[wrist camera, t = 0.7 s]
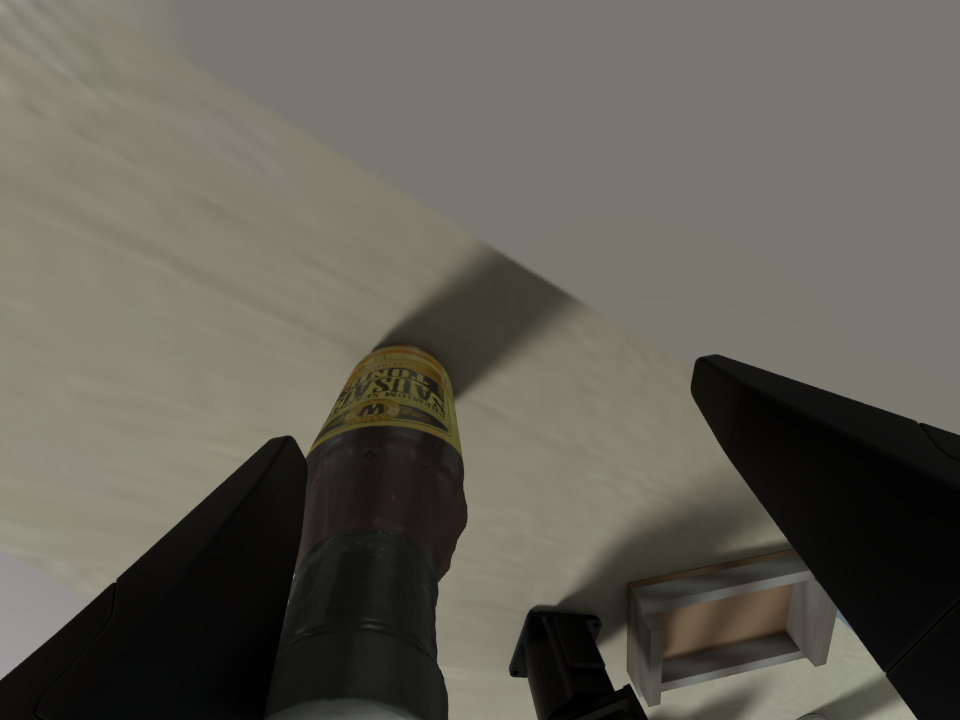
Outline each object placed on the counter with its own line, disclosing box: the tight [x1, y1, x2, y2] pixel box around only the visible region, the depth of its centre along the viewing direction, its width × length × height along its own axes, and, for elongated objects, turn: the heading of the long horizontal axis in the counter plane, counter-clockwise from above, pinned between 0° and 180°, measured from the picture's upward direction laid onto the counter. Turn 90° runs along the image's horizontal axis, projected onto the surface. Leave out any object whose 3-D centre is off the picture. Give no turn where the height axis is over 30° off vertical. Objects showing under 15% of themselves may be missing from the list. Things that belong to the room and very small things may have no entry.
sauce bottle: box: [263, 343, 467, 720], centre depth 17 cm, size 7×6×20 cm
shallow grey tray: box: [627, 549, 837, 707], centre depth 34 cm, size 16×10×4 cm, turn 96°
